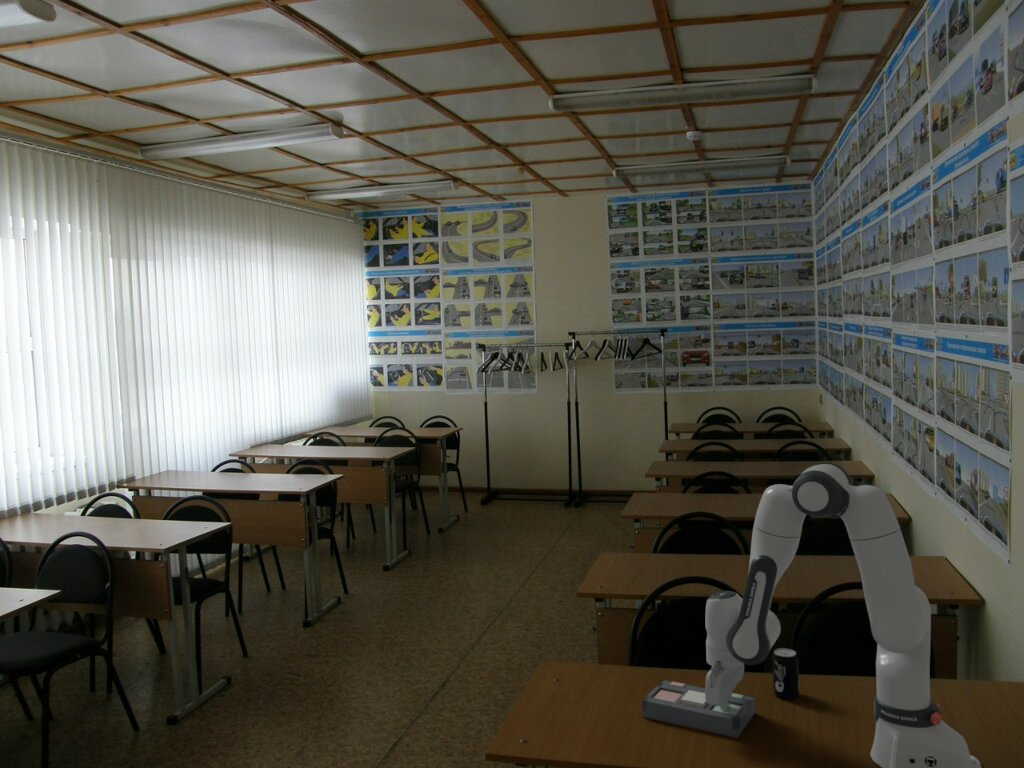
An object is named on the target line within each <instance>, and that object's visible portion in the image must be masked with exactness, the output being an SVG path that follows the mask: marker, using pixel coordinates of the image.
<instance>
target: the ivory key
mask: <svg viewBox="0 0 1024 768" xmlns="http://www.w3.org/2000/svg"><path fill="white" fill-rule="evenodd" d="M681 704H685V705H690V706H695V707H700V708H705V707H706V706H707V705H708V704H707V703H706V700H705V693H701V692H696V691H691V690H689V691H688V692H687V693H686V694H685V695H684V696H683V697H682V698H681Z"/></svg>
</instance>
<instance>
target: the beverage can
mask: <svg viewBox="0 0 1024 768" xmlns="http://www.w3.org/2000/svg"><path fill="white" fill-rule="evenodd" d="M772 679H773V680H772V683H773V685H772V686H773V693H774V694H775V696H776V697H777V698H779V699H782V700H788V701H789V700H794V699H797V698H798V696H799V695H800V681H799V658H798V656H797V651H795V650H793V649H791V648H785V647H780V648H776V649H774V651H773V654H772Z"/></svg>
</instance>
